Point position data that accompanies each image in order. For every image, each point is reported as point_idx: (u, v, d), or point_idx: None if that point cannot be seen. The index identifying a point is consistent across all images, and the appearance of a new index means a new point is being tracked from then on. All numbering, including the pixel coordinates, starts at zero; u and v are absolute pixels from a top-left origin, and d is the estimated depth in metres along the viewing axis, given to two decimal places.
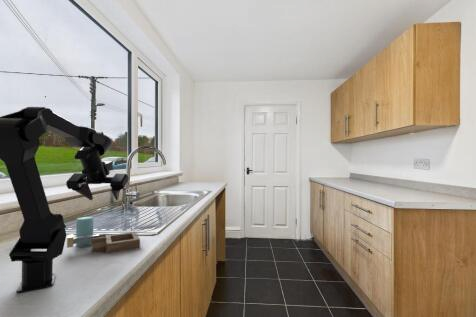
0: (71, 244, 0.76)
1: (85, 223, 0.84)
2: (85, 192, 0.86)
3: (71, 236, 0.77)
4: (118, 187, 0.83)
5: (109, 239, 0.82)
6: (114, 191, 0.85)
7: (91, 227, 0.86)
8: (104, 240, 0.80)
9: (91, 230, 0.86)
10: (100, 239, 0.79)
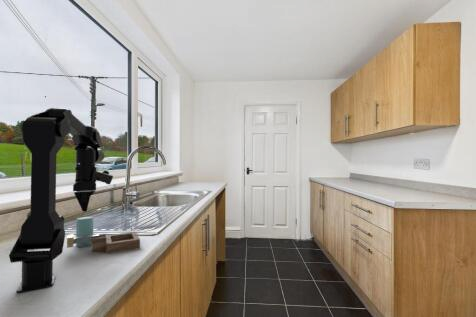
0: (71, 244, 0.76)
1: (85, 222, 0.84)
2: None
3: (71, 236, 0.77)
4: (73, 188, 0.77)
5: (109, 239, 0.82)
6: (74, 193, 0.79)
7: (91, 227, 0.86)
8: (104, 240, 0.80)
9: (91, 229, 0.86)
10: (100, 239, 0.79)
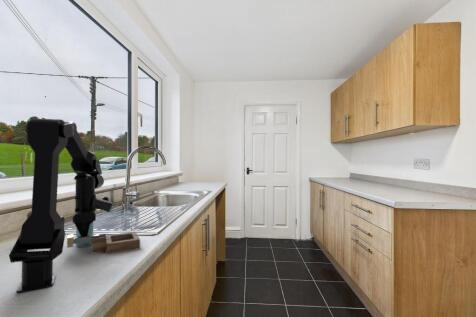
0: (71, 244, 0.76)
1: None
2: None
3: (71, 236, 0.77)
4: None
5: (109, 239, 0.82)
6: None
7: (91, 227, 0.86)
8: (104, 240, 0.80)
9: (91, 229, 0.86)
10: (100, 239, 0.79)
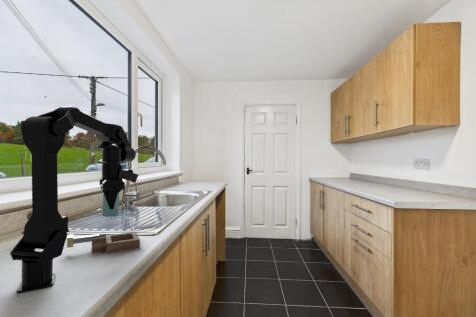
0: (71, 244, 0.76)
1: None
2: None
3: (71, 236, 0.77)
4: (102, 186, 0.77)
5: (109, 239, 0.82)
6: (102, 191, 0.80)
7: (118, 198, 0.85)
8: (104, 240, 0.80)
9: (117, 200, 0.85)
10: (100, 239, 0.79)
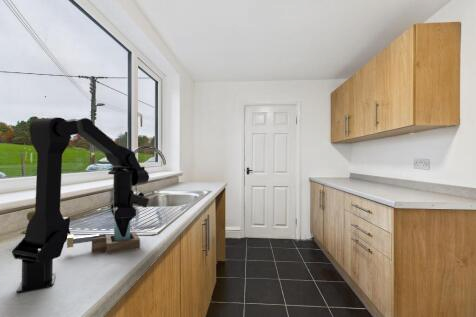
0: (71, 244, 0.76)
1: None
2: None
3: (71, 236, 0.77)
4: (114, 214, 0.76)
5: (109, 239, 0.82)
6: None
7: (129, 229, 0.84)
8: (104, 240, 0.80)
9: (129, 231, 0.84)
10: (100, 239, 0.79)
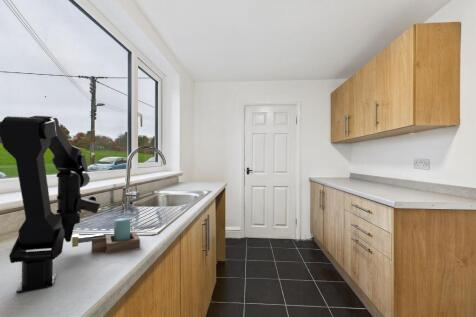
0: (76, 243, 0.77)
1: (123, 224, 0.83)
2: None
3: (76, 235, 0.78)
4: None
5: (109, 239, 0.82)
6: None
7: (129, 229, 0.84)
8: (104, 240, 0.80)
9: (129, 231, 0.84)
10: (100, 239, 0.79)
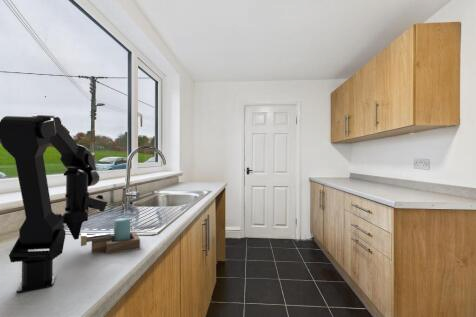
0: (85, 242, 0.78)
1: (123, 224, 0.83)
2: None
3: (84, 234, 0.79)
4: None
5: (109, 239, 0.82)
6: None
7: (129, 229, 0.84)
8: (104, 240, 0.80)
9: (129, 231, 0.84)
10: (100, 239, 0.79)
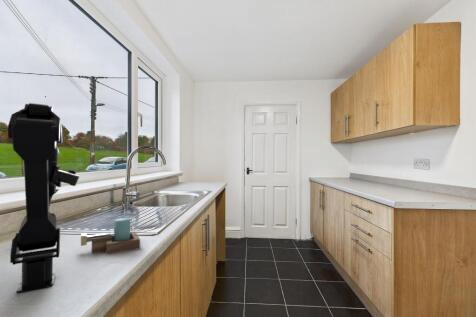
0: (85, 242, 0.78)
1: (123, 224, 0.83)
2: None
3: (84, 234, 0.79)
4: None
5: (109, 239, 0.82)
6: None
7: (129, 229, 0.84)
8: (104, 240, 0.80)
9: (129, 231, 0.84)
10: (100, 239, 0.79)
